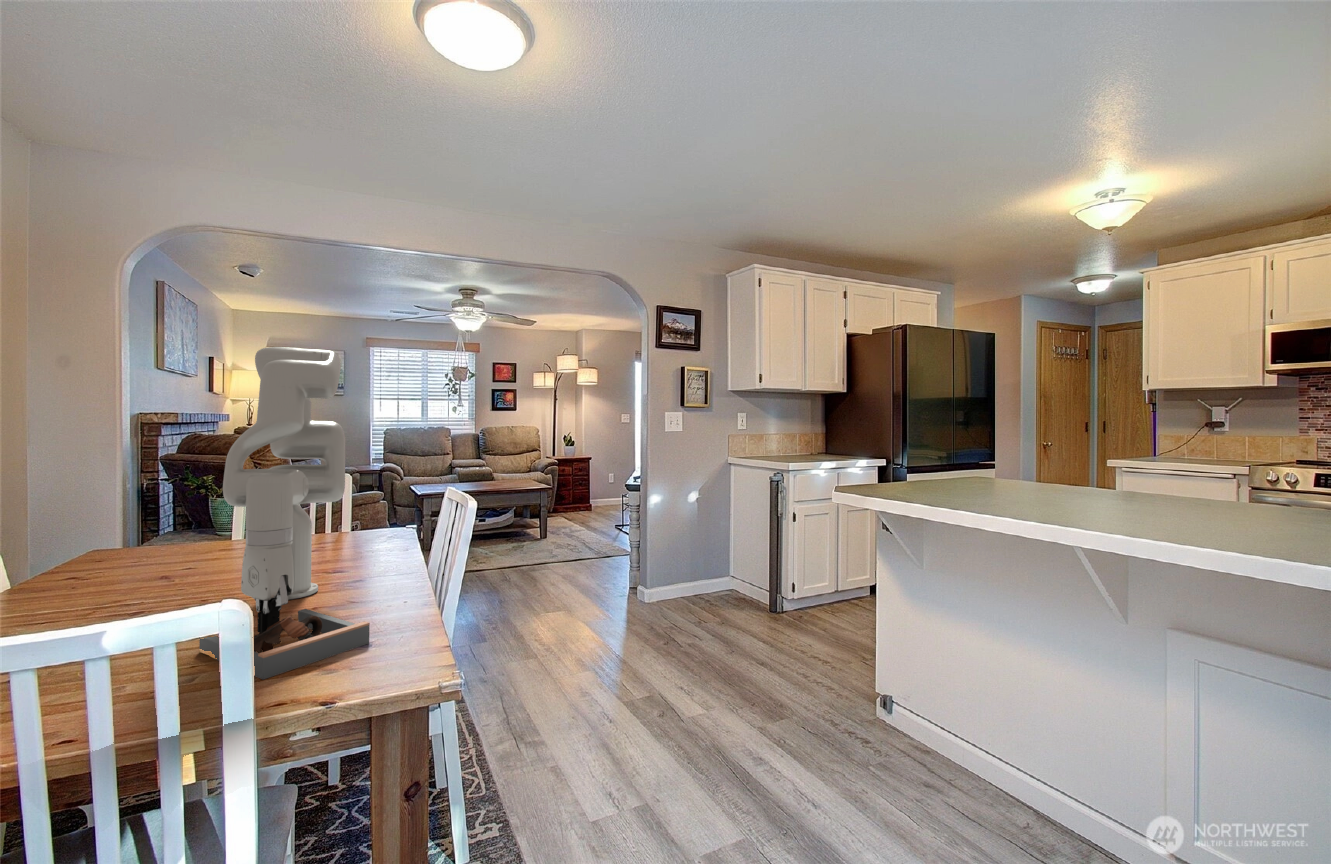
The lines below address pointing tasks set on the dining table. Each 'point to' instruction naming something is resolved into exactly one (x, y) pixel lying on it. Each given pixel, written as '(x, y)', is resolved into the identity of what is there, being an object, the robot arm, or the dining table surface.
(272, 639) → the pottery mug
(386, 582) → the dining table surface
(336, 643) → the bay
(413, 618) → the dining table surface
